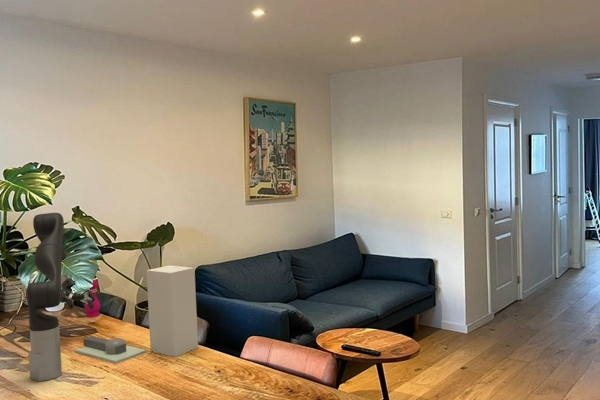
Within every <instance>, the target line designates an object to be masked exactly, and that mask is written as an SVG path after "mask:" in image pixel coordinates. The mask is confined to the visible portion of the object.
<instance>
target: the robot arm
mask: <svg viewBox="0 0 600 400" xmlns="http://www.w3.org/2000/svg"><path fill="white" fill-rule="evenodd" d="M32 221H33V223H32V225H33V231H34V233H35V235H36V237H37V239H38V240H39V244H38V246H37V247H36V249H35V253H34V254H35V255H34V264H35V267H36V268H37V270H38V271H39V272H40V274H42V275H44V276H45V277H46V278H47V279H48V280H46V281H35V282H30V283H29V284H27V286H26V294H25V295H26V303H27V313H28V320H29V321H28V323H29V326H28V327H29V338H30V339H29V340H30V351H28V363H29V365H28V366H29V379H31V380H34V381H36V382H43V381H44V382H45V381H50V380H53V379H56V378H58V377H60V376H61V375H62V374H63V372H62V355H61V341H60V339H61V337H60V322H59V321H60V320H59V318H58V317H57V316H55V315H52V314H51V315H50V314H46V313H44V312H42V311H40V309H51V308H56V307H58V306H60V304H61V303H65V304H66V305H67V307H68V308H69V309H70V310H72V309H73V308H74V306H75V303H74V302H73V301H80V302H82V303H84V304H86V303H87V305H88V307H89V309H92V308H93V307H94V304H93V303H94V301H95V299H96V298H95V297H94V295H93V294H92V292H91V291H88V292H86V291H84V292H85V293H84V294H82V295H80V294H79V295H77V294H76V293H75V290H73V291H72V289H71V287H72V286H73V285H75V281H73V280H72V279H71V278H70V277H69V276H67V275H63V276H62V275H61V262H62V260H64V259H65V258H66V256H67V254H66V253H67V251H65V248H64V245H63V238H64V237H63V236H64V229H65V228H64V227H65V222H64V217H63V215H62V213H60V212H47V213H40V214H36V215H34V217H33V220H32ZM87 299H88V301H87Z"/></svg>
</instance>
